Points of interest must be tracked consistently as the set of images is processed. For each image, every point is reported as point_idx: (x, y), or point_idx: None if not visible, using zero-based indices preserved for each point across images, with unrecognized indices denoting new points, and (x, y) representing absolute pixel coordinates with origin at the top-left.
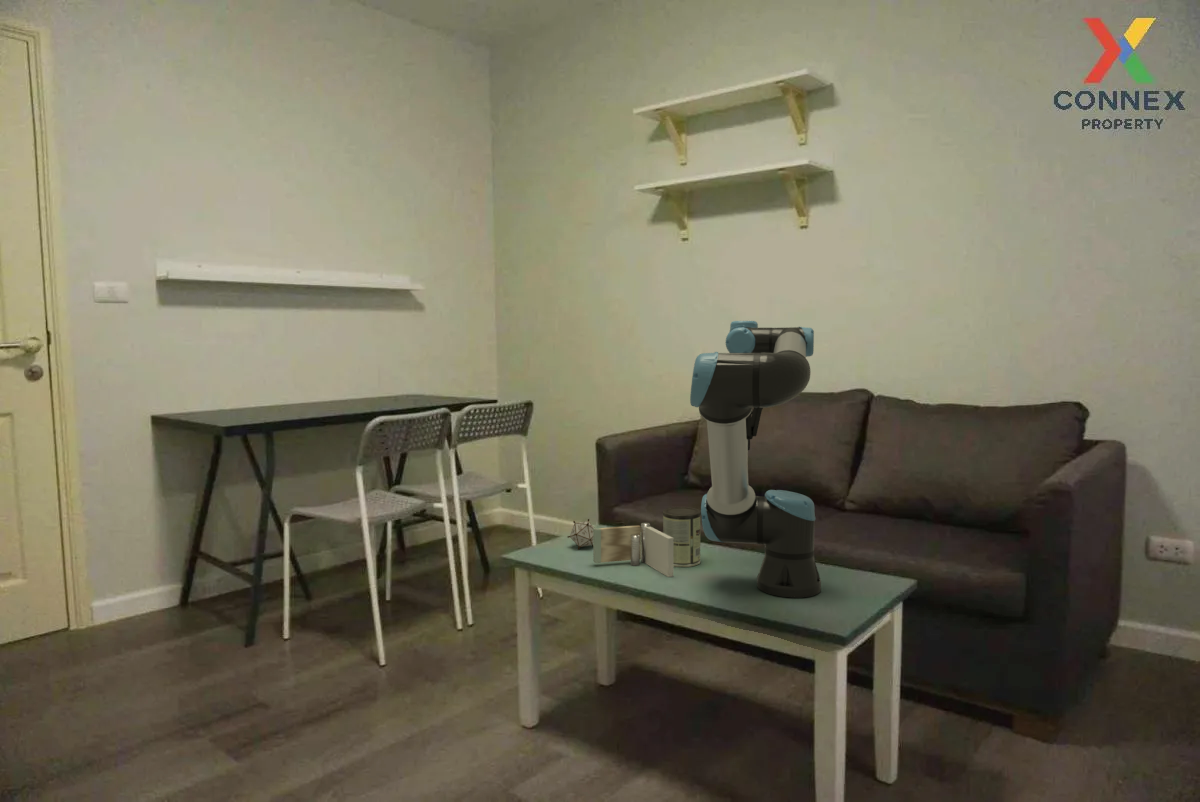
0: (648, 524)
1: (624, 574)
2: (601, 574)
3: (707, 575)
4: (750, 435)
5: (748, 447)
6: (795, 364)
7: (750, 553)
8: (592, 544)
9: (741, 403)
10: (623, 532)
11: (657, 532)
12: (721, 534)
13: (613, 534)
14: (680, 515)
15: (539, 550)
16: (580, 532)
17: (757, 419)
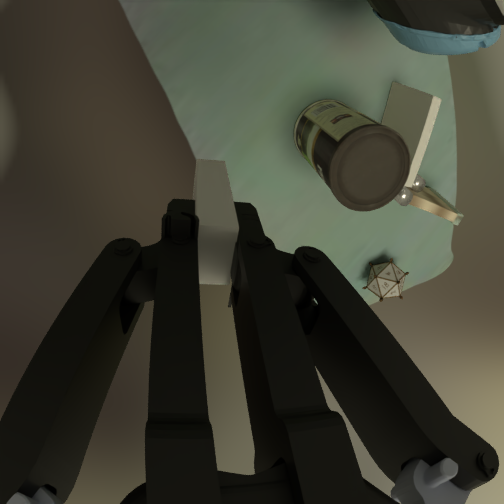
0: (406, 191)
1: (430, 136)
2: (446, 156)
3: (347, 47)
4: (167, 245)
5: (179, 207)
6: None
7: (174, 106)
8: (373, 265)
9: None
10: (430, 199)
11: (425, 144)
12: None
13: (439, 203)
14: (404, 140)
15: (417, 276)
16: (402, 274)
17: (65, 353)
